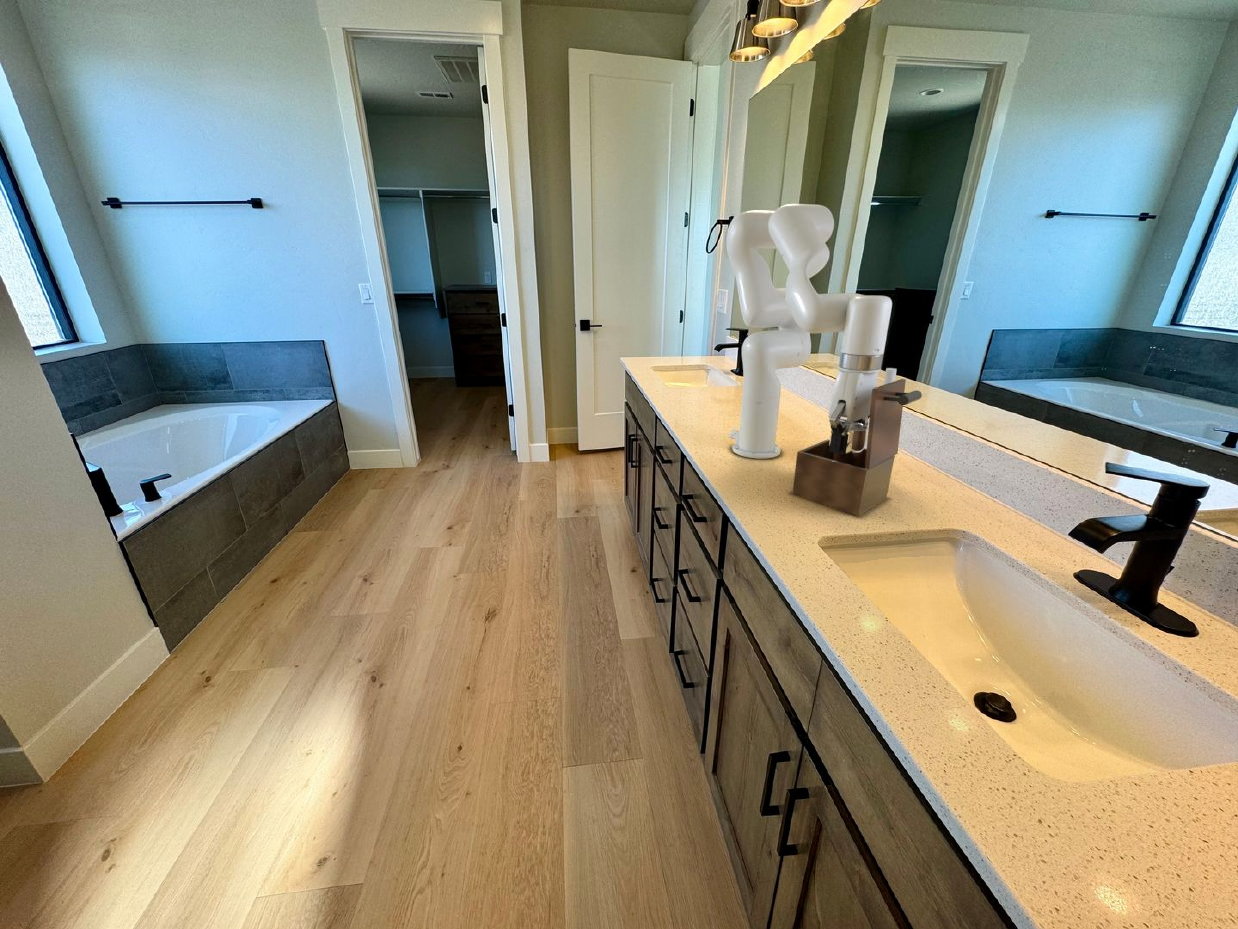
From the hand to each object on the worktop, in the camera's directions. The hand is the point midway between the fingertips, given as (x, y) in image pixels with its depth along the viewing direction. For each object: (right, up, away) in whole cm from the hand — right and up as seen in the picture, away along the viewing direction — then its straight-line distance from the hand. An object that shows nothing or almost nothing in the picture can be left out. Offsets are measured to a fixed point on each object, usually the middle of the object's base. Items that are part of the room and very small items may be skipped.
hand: (846, 448), depth 102 cm
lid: (+4, +5, -7) cm, 9 cm away
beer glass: (0, -10, +4) cm, 10 cm away
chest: (0, -10, +4) cm, 11 cm away
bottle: (+13, -6, +15) cm, 21 cm away
